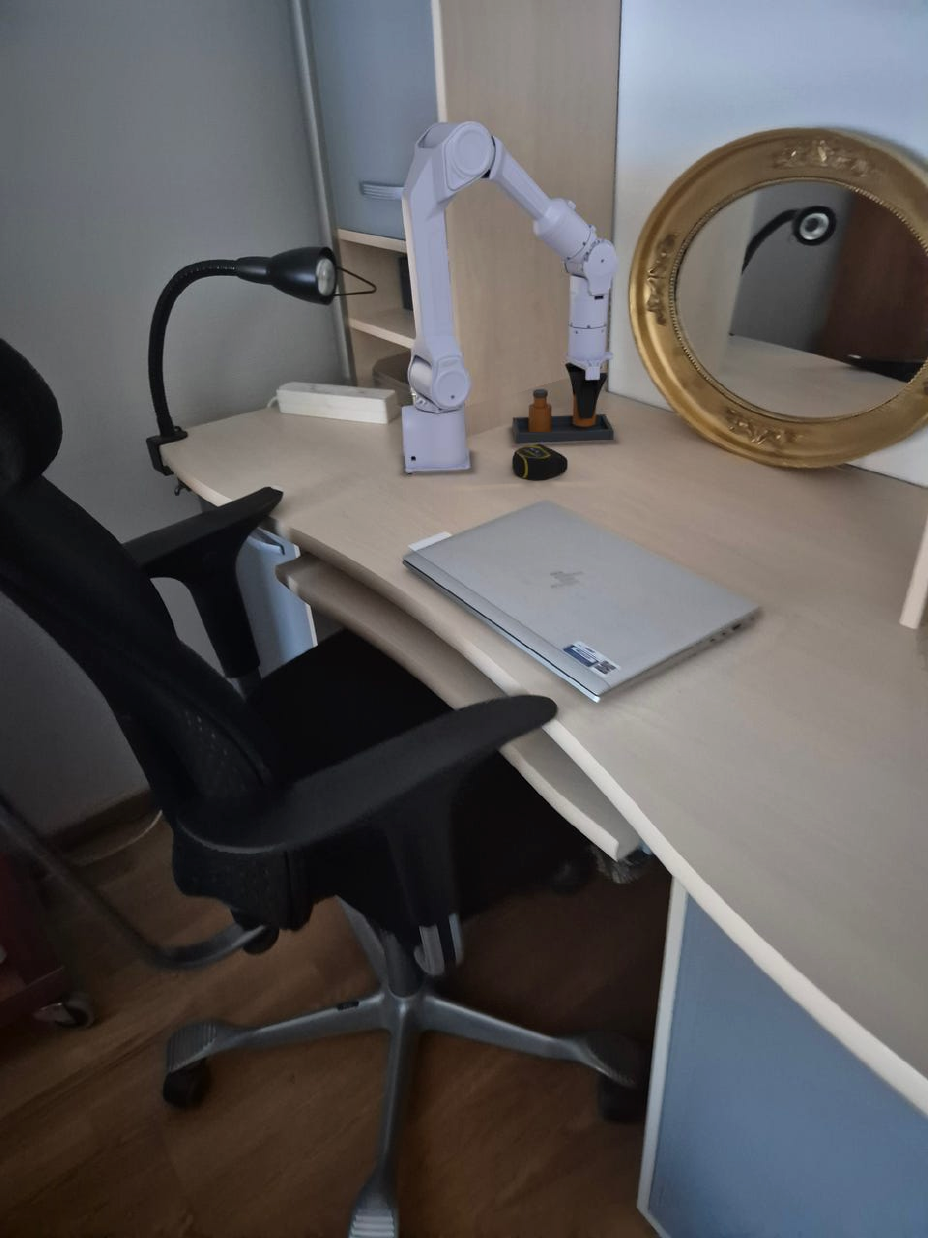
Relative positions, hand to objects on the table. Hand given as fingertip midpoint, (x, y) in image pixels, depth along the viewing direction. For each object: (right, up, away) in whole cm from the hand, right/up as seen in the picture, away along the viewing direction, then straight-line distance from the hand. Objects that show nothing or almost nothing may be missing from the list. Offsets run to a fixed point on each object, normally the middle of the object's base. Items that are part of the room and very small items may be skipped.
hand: (584, 413), depth 128 cm
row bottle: (-7, -3, +2) cm, 8 cm away
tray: (-3, -3, +2) cm, 5 cm away
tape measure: (-8, -12, -11) cm, 18 cm away
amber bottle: (0, -1, +1) cm, 2 cm away
